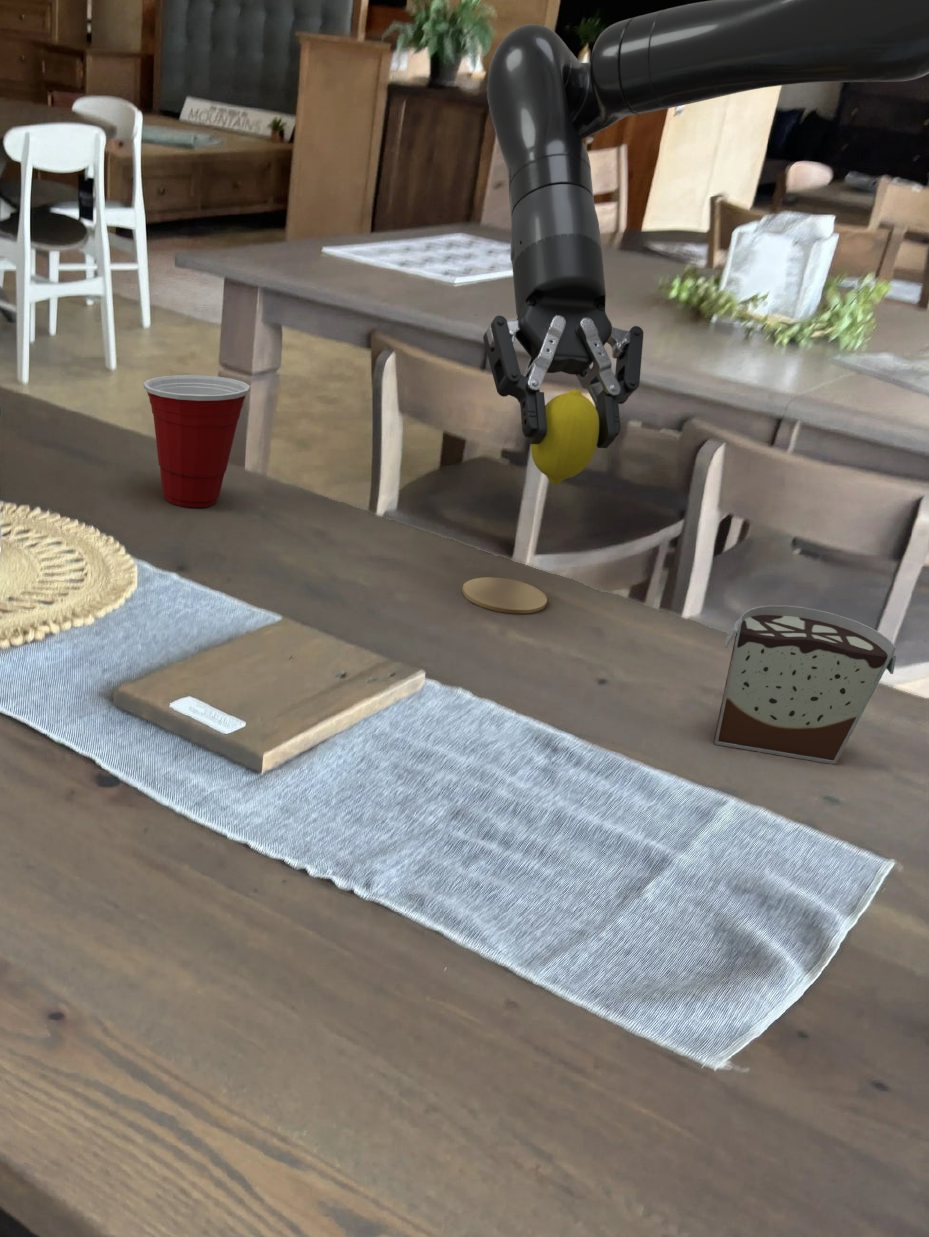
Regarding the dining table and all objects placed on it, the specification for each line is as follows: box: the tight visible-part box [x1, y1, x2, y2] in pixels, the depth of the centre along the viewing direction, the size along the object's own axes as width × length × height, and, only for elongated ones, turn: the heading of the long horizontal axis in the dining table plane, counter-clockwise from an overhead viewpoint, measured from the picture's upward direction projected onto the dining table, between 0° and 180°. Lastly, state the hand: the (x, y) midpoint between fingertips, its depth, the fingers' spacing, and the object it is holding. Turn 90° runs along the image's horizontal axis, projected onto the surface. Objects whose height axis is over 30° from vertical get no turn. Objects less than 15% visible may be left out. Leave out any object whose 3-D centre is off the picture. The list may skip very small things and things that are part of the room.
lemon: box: [530, 388, 599, 486], centre depth 114 cm, size 6×6×8 cm
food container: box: [713, 604, 897, 765], centre depth 104 cm, size 12×6×10 cm, turn 79°
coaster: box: [461, 576, 548, 615], centre depth 127 cm, size 8×8×1 cm
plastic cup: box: [142, 374, 251, 509], centre depth 139 cm, size 11×11×12 cm
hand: (572, 441), depth 113 cm, fingers closed on lemon, 5 cm apart
